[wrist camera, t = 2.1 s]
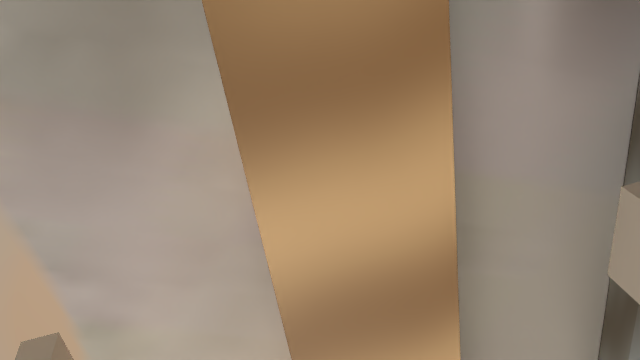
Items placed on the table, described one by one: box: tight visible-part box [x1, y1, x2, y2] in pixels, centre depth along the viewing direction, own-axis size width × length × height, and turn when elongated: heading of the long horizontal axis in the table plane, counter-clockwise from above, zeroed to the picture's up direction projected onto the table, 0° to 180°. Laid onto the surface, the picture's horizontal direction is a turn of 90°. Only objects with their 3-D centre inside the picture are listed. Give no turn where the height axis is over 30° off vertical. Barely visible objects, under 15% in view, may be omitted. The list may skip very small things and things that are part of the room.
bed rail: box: [202, 0, 460, 360], centre depth 14 cm, size 28×4×5 cm, turn 9°
